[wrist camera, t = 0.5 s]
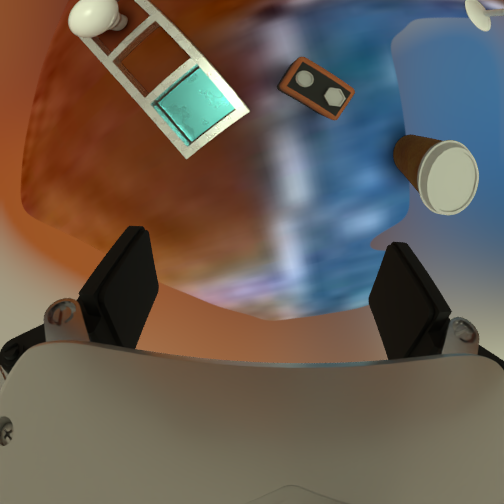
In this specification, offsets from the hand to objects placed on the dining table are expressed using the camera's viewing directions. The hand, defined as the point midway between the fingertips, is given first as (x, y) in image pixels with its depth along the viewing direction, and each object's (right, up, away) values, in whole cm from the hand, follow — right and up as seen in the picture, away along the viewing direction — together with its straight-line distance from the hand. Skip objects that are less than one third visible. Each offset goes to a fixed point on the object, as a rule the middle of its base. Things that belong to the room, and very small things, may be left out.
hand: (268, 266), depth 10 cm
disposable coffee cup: (+23, +15, +24) cm, 37 cm away
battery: (+6, +22, +20) cm, 31 cm away
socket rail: (-14, +26, +18) cm, 35 cm away
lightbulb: (-19, +33, +14) cm, 41 cm away
